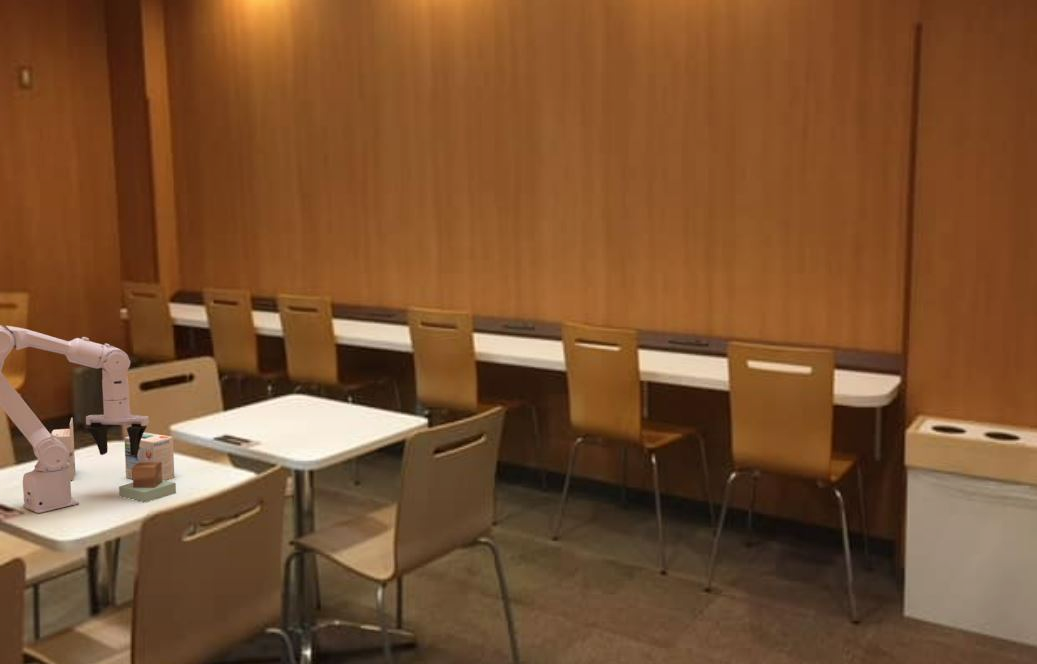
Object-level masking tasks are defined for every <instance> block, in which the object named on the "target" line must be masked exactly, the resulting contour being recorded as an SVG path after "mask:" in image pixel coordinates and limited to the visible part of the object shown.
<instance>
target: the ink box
mask: <svg viewBox="0 0 1037 664" xmlns="http://www.w3.org/2000/svg"><path fill="white" fill-rule="evenodd" d="M73 420H74V419H73V417H71V418H70V422H69V428H60V429H53V430H52V431H51V434H52V435H54V436H56V437H58V438H59V439H60V440H61V441H62V443H63V445H65V446H66V447H67V448H68V450H69V454H70V455H69V460H68V463H69V466H70V480H72V481H74V480H75V476H76V457H75V439H74V421H73Z"/></svg>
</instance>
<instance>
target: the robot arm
mask: <svg viewBox="0 0 1037 664" xmlns="http://www.w3.org/2000/svg"><path fill="white" fill-rule="evenodd" d="M30 347H31V348H34V349H39V350H43V351H46V352H47V351H48V352H51V353H56V354H60V355H64V356H65V357H66V359H67V360H68V362H69V363H73V364H77V365H82V366H86V367H90V368H93V369H98V370H99V369H100V368H101V369H102V370H101V371H102V372H101V373H102V380H101V383H102V384H101V385H102V386H101V387H102V403H103V414H90V415H87V416H85V424H86V425H87V426H88V425H90V426H89V427H88V428H87V429H88V430H87V431H88V432H89V433H90V435H91V436H92V438H93V439H94V441H95V443H96V447H97V449H98V451H99V455H101V456H103V455H105V454H107V453H108V449H109V448H108V447H109V446H108V430H109V426H110V425H116V426H117V425H119V426H121V425H122V426H128V427H127V428H126V431H127V434H128V435H127V436H128V437H129V439H130V452H131V456H135V455H136V454H138V449H139V445H140V441H141V438H142V435H143V433H144V432H145V431H146V429H147V426H149V423H150V419H149V418H150V417H149V416H148V415H137V414H131V409H130V408H131V405H130V387H129V386H130V385H129V378H128V376H129V375H128V374H129V373H128V370H129V368H130V367H131V363H132V362H131V360H130V357H129V355H128V353H126V352H125V351H124V350H122V349H120V348H118V347H115V346H114V345H110V343H104V344H101V343H97V342H94V341H91V340H90V338H89V337H87V336H82V337H81V338H79V337H76V338H73V339H72V340H68V341H67V340H65V339H61V338H58V337H54V336H51V335H48V334H45V333H40V332H39V331H34V330H30V329H27V328H23V327H17V326H11V325H5V326H4V325H2V324H0V407H1V409H2V410H3V411H4V413H6V415H7V416H8V418H10V420H11V421H12V422H13V423H14V425H15V426H16V427H17V429H18V430H19V431H20V433H22V434H23V436H24V437H25V438H26V440H27V442H29V443H30V445H31V447H32V449H33V454H34V456H35V457H36V459H38V461H37V462H36V464H35V465H34V469H33V470H32V471H28V472H25V473H24V474H23V476H22V477H23V478H22V489H23V490H22V491H23V504H22V506H23V508H26V509H28V510H30V511H32V512H35V513H37V514H39V513H40V514H41V513H44V512H49V511H54V510H57V509H58V510H59V509H62V508H66V507H71V506H74V505H79V504H80V501H78V500H76V499H74V498H73V497H72V486H71V481H70V466H69V463H68V460H69V455H70V454H69V450H68V448H67V447H66V446H65V445H63V443H62V441H61V440H60V439H59V438H58V437H56V436H54V435H52V433H50V432H49V431H48V430H47V429H48V428H46V427H45V426H44V425H43V423H42V422H41V420H40V419H39V418H38V416H37V415H36V414H35V413H34V412H33V409H31V408H30V406H29V405H28V404H27V402H25V400H24V399H23V398H22V397H21V394H19V393H18V391H17V390H16V389H15V388H14V386H13V385H12V384H11V383H10V381H9V380H8V379H7V377H6V376H5V375H4V374H3V372H2V371H3V367H4V363H5V359H6V358H7V357H8V355H9V354H10V353H11V352H12V350H13V348H14V350H16V351H18V350H19V351H20V350H22V349H25V348H30Z"/></svg>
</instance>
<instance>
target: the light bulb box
mask: <svg viewBox="0 0 1037 664" xmlns="http://www.w3.org/2000/svg"><path fill="white" fill-rule="evenodd" d="M124 456H125V457H124V459H125V478H126V479H130V480H133V471H132V467H133V466H135V465H136V464H138V463H139V462H162V480H165V481H168V480H171V479H174V478H175V477H176V476H175V459H174V458H175V453H174V437H173V436H169V435H163V434H158V433H150V432H145V431H144V433H143V435H142V438H141V441H140V445H139V449H138V454H136V455H135V456H131V452H130V439H129V436H126V437H124Z"/></svg>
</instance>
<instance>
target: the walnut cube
mask: <svg viewBox="0 0 1037 664" xmlns="http://www.w3.org/2000/svg"><path fill="white" fill-rule="evenodd" d="M132 471H133V479H132V483H133V488H155V487H156V486H157V485H159V484H160V483H161V482H162V462H139V463H138V464H136V465H135V466H133V467H132Z"/></svg>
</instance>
